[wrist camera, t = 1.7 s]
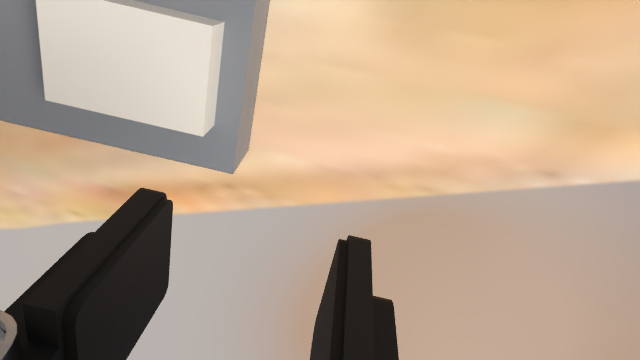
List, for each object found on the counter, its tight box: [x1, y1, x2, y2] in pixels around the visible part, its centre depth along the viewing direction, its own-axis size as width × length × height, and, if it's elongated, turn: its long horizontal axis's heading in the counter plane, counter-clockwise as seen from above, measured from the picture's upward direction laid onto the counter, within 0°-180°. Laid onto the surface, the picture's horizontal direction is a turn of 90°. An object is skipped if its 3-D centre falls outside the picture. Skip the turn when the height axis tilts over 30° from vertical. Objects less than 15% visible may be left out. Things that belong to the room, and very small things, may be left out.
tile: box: [36, 0, 225, 137], centre depth 23 cm, size 9×6×2 cm, turn 78°
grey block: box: [0, 0, 270, 174], centre depth 26 cm, size 16×12×4 cm
